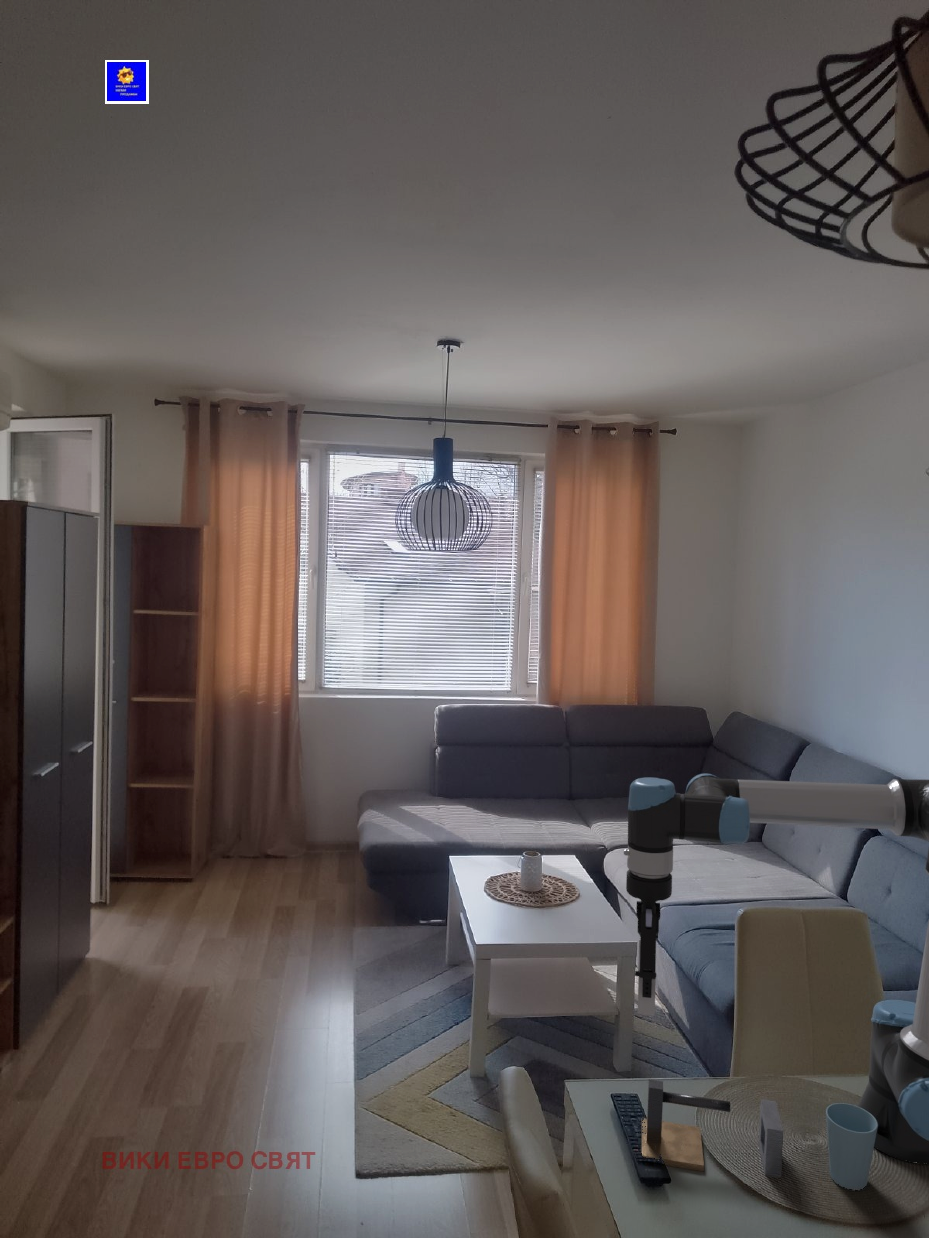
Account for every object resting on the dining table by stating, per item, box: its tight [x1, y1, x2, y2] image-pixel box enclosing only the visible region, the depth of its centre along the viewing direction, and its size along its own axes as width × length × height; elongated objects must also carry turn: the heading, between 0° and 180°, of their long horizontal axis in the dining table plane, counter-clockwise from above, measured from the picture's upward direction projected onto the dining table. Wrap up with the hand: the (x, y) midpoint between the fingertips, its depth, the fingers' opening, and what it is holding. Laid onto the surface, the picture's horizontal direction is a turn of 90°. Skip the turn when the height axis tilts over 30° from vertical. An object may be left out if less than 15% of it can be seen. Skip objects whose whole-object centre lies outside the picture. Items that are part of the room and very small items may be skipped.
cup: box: [825, 1102, 878, 1191], centre depth 139 cm, size 8×8×10 cm
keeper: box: [641, 1079, 731, 1172], centre depth 145 cm, size 14×10×10 cm
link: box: [758, 1098, 784, 1179], centre depth 143 cm, size 2×8×8 cm, turn 168°
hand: (645, 993), depth 146 cm, fingers open, 13 cm apart
